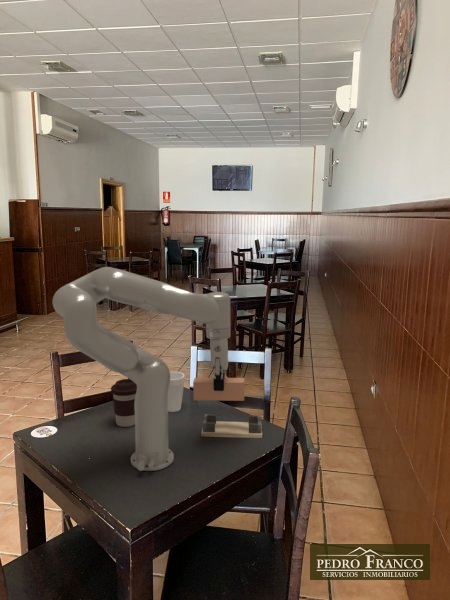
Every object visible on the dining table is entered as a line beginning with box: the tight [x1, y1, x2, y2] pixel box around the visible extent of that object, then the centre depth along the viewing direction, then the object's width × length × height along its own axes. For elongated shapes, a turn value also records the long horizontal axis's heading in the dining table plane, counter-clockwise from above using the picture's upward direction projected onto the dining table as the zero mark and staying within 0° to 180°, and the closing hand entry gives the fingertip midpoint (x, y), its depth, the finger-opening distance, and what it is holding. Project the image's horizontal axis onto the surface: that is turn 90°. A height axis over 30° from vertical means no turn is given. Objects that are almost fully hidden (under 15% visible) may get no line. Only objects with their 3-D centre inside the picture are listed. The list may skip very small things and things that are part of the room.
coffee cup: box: [110, 378, 137, 428], centre depth 154 cm, size 10×10×15 cm
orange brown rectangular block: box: [192, 377, 245, 402], centre depth 141 cm, size 4×16×6 cm, turn 87°
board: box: [200, 413, 263, 439], centre depth 149 cm, size 9×20×4 cm, turn 88°
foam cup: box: [168, 371, 186, 413], centre depth 166 cm, size 10×9×13 cm
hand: (219, 387), depth 141 cm, fingers closed on orange brown rectangular block, 4 cm apart
